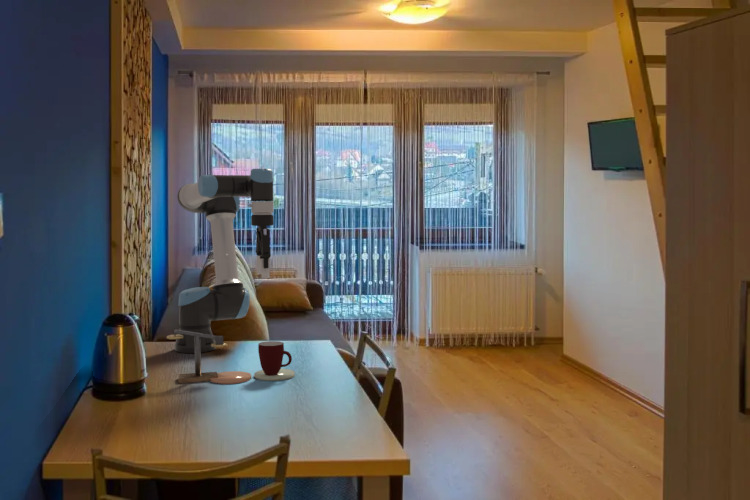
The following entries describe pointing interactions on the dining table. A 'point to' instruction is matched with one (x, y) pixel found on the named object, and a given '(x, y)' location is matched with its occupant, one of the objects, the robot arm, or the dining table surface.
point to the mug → (272, 356)
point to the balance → (198, 356)
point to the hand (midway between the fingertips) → (263, 276)
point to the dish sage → (282, 375)
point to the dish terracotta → (231, 377)
